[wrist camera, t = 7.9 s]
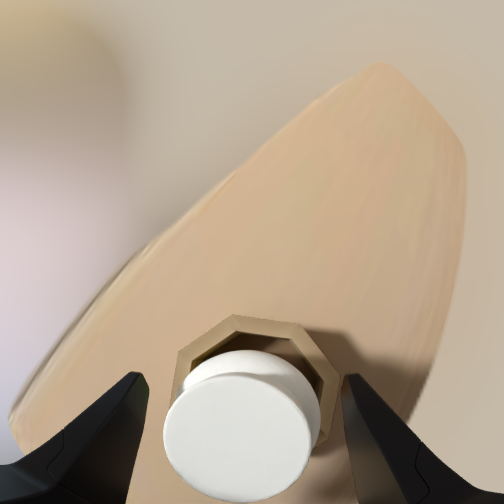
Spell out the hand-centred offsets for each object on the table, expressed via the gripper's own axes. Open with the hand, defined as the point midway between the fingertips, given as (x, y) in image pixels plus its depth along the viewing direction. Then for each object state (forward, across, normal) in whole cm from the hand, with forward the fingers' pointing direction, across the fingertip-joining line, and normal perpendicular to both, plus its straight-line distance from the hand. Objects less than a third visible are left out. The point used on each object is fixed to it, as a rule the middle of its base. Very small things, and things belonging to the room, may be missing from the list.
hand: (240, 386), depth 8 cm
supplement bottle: (+4, 0, +7) cm, 8 cm away
